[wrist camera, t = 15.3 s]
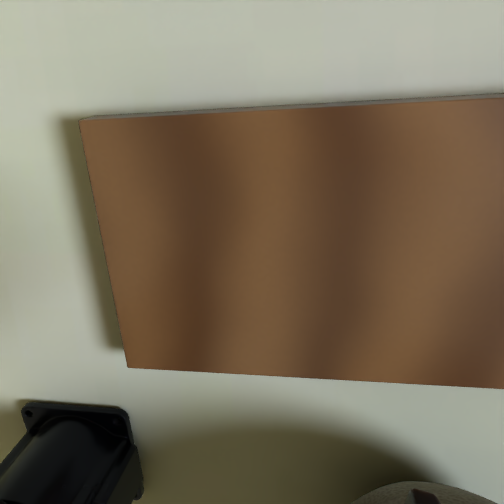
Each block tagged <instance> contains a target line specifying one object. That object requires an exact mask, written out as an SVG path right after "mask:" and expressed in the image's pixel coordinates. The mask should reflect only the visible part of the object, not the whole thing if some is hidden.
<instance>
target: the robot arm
mask: <svg viewBox="0 0 504 504" xmlns="http://www.w3.org/2000/svg"><path fill="white" fill-rule="evenodd" d="M21 413H22V417H23V420H24V423H25V426H26V429H27V433H26V434H25V435H24V436H23V438H22V439H21V440H20V441H19V442H18V443H17V445H16V446H15V447H14V448H13V449H12V451H11V452H10V453H9V454H8V455H7V457H6V458H5V459H4V460H3V461H2V462H1V464H0V504H132V502H133V500H139V499H140V498H141V497H142V495H143V492H144V487H143V482H142V481H143V474H142V470H141V465H140V460H139V455H138V450H137V447H136V445H135V444H134V439H133V434H132V430H131V425H130V420H129V416H128V414H127V413H126V412H125V411H124V410H122V409H115V408H102V407H88V406H75V405H62V404H48V403H35V402H29V403H27V404H26V405H25V406H24V407H23V408H22V410H21ZM117 417H118V418H120V419H118V418H117ZM404 504H441V503H440V501H439V500H438V498H437V497H436V496H435V495H434V494H433V493H431V492H427V491H423V490H419V489H416V488H413V489H411V490H410V491H409V493H408V495H407V497H406V500H405V502H404Z"/></svg>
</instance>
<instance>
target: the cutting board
mask: <svg viewBox="0 0 504 504" xmlns="http://www.w3.org/2000/svg"><path fill="white" fill-rule="evenodd" d="M78 122H79V127H80V132H81V137H82V142H83V147H84V152H85V157H86V162H87V167H88V172H89V177H90V182H91V187H92V192H93V197H94V202H95V207H96V212H97V217H98V222H99V227H100V232H101V237H102V242H103V247H104V252H105V257H106V262H107V267H108V272H109V277H110V282H111V287H112V292H113V297H114V302H115V307H116V312H117V317H118V322H119V327H120V332H121V337H122V342H123V347H124V352H125V357H126V362H127V367H128V368H141V369H159V370H176V371H194V372H212V373H229V374H247V375H265V376H282V377H300V378H318V379H335V380H353V381H371V382H388V383H406V384H423V385H441V386H459V387H476V388H494V389H504V93H498V94H480V95H462V96H444V97H426V98H408V99H390V100H372V101H354V102H336V103H318V104H300V105H282V106H263V107H245V108H227V109H209V110H191V111H173V112H155V113H137V114H119V115H101V116H93V117H89V118H85V119H81V120H79V121H78Z"/></svg>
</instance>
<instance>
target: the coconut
mask: <svg viewBox="0 0 504 504" xmlns="http://www.w3.org/2000/svg"><path fill="white" fill-rule="evenodd" d="M413 488H416V489H419V490H423V491H427V492H431V493H433V494H434V495H435V496H436V497H437V498H438V500H439V501H440V503H441V504H497V503H495V502H493V501H490V500H488V499H486V498H484V497H481V496H479V495H476V494H473V493H471V492H468V491H465V490H462V489H459V488H455V487H451V486H447V485H442V484H437V483H430V482H415V481H406V482H398V483H393V484H389V485H386V486H383V487H380V488H377V489H375V490H373V491H371V492H369V493H367V494H365V495H364V496H362V497H360V498H358V499H357V500H355V501H353V502H352V503H350V504H404V502H405V500H406V497H407V495H408V493H409V491H410V490H411V489H413Z"/></svg>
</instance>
